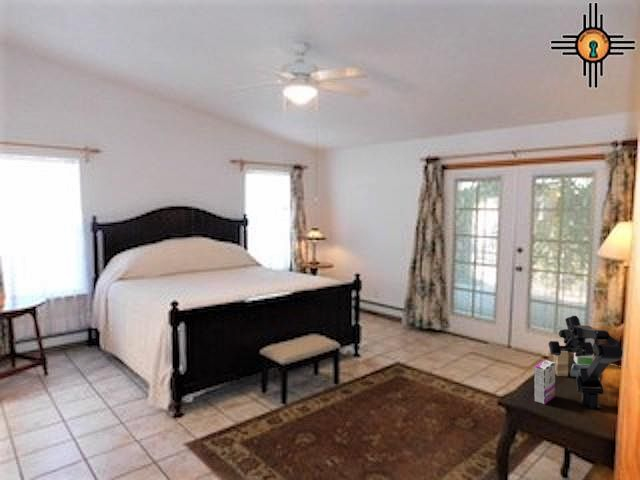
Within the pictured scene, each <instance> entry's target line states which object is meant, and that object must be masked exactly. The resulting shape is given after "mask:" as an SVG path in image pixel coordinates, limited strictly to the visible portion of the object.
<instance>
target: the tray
mask: <svg viewBox="0 0 640 480" xmlns="http://www.w3.org/2000/svg"><path fill="white" fill-rule="evenodd" d="M581 368H589V366H588V365H577V364H576V363H572V365H571V368H570V371H569V375H570V377H573V378H576V377H577V375H578V372H579V371H580V369H581Z"/></svg>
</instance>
